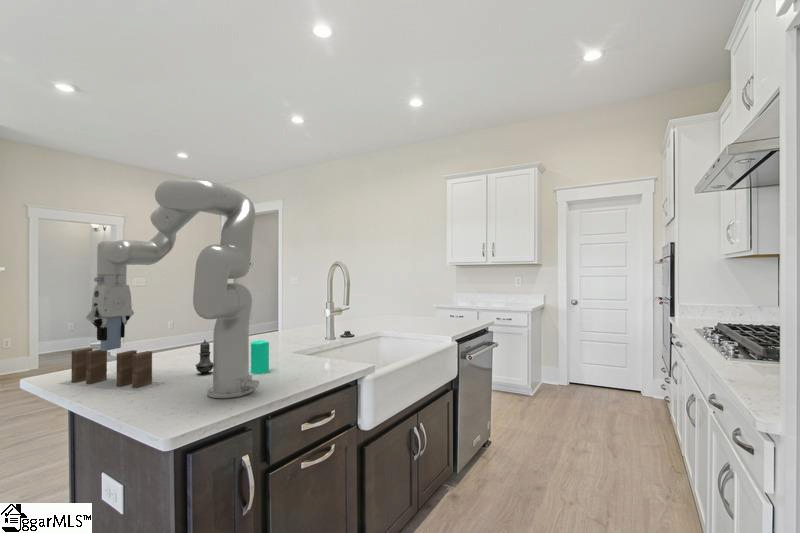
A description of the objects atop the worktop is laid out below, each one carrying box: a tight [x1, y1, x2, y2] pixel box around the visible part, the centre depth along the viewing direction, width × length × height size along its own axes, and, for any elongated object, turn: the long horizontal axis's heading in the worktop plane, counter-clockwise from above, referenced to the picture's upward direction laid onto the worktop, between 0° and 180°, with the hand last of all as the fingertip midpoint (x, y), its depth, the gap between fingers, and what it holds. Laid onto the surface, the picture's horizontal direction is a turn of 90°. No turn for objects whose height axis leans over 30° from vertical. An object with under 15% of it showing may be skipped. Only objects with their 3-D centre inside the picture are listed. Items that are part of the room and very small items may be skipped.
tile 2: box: [116, 349, 138, 387], centre depth 123 cm, size 2×5×10 cm, turn 166°
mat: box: [57, 377, 164, 392], centre depth 125 cm, size 32×9×1 cm, turn 75°
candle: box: [250, 339, 270, 375], centre depth 140 cm, size 6×6×12 cm
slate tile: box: [100, 317, 122, 352], centre depth 125 cm, size 2×5×10 cm, turn 165°
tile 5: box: [70, 347, 93, 383], centre depth 128 cm, size 2×5×10 cm, turn 166°
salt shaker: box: [195, 339, 213, 377], centre depth 136 cm, size 6×6×12 cm
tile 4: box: [86, 349, 108, 384], centre depth 127 cm, size 2×5×10 cm, turn 165°
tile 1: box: [132, 350, 153, 388], centre depth 122 cm, size 2×5×10 cm, turn 165°
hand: (111, 338), depth 125 cm, fingers closed on slate tile, 5 cm apart
